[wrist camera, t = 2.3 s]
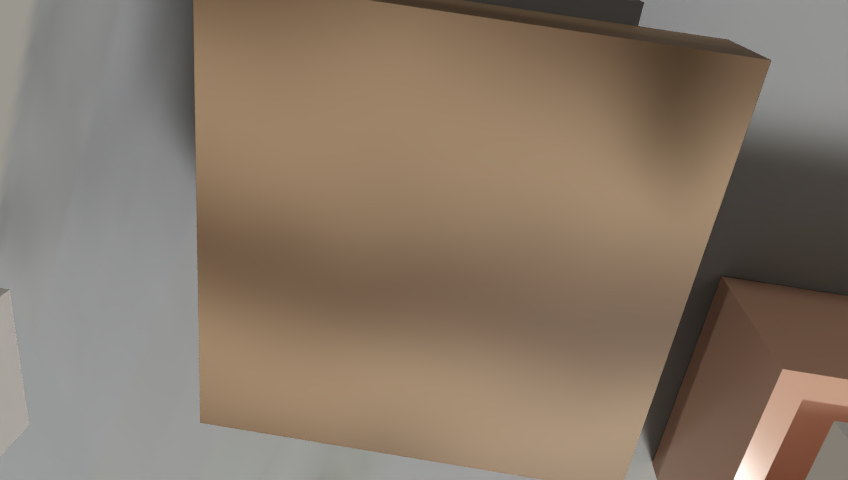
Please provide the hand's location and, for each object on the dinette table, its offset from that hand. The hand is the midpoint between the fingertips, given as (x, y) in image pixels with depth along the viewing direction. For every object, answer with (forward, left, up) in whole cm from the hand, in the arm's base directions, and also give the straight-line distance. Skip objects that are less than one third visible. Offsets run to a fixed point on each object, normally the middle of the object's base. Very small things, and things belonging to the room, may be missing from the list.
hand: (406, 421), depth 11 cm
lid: (0, 0, -7) cm, 7 cm away
